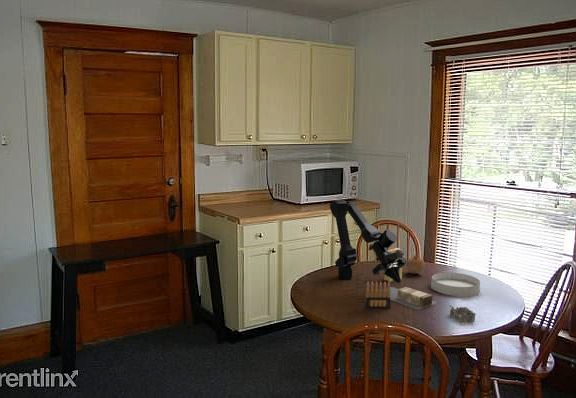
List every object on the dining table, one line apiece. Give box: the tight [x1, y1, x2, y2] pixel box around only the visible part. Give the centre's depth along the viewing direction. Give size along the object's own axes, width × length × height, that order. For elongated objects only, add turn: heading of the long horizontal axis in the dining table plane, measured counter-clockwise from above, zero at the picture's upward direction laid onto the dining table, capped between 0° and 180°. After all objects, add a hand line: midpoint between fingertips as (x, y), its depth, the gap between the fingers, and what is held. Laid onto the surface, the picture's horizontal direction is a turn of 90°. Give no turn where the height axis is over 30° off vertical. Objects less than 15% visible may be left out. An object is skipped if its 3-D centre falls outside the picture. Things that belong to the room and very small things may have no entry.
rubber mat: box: [382, 286, 438, 311], centre depth 235 cm, size 26×14×1 cm, turn 39°
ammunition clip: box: [364, 280, 391, 310], centre depth 222 cm, size 11×2×12 cm, turn 90°
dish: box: [430, 272, 481, 298], centre depth 248 cm, size 22×22×5 cm
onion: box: [405, 254, 426, 275], centre depth 270 cm, size 10×9×10 cm
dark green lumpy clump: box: [449, 305, 477, 324], centre depth 213 cm, size 11×8×4 cm
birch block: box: [397, 286, 433, 308], centre depth 230 cm, size 4×6×14 cm
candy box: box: [383, 247, 404, 283], centre depth 260 cm, size 9×4×15 cm, turn 129°
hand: (399, 282), depth 236 cm, fingers closed
